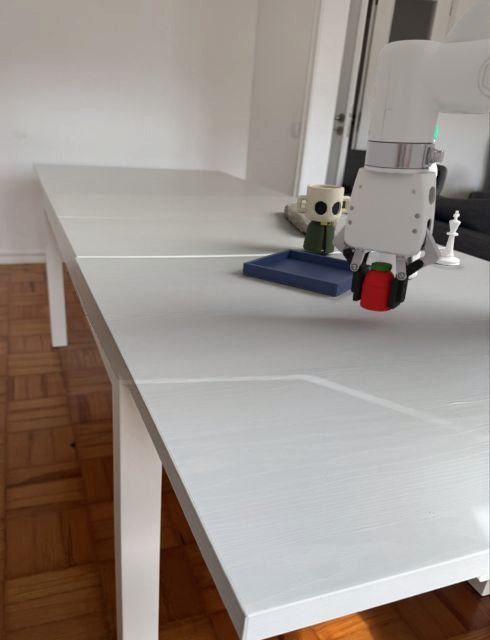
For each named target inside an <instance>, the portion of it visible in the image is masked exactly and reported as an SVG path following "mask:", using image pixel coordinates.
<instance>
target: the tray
mask: <svg viewBox="0 0 490 640" xmlns="http://www.w3.org/2000/svg"><path fill="white" fill-rule="evenodd" d="M367 268H369V270H371V269H372V268H371V264H368V263H367ZM242 275H244V276H249V277H252V278H257V279H261V280H264V281H269V282H274V283H277V284H280V285H281V284H282V285H286V286H290V287H295V288H298V289H303V290H307V291H310V292H315V293H320V294H324V295H327V296H332V297H338V296H340V295H342V294H344V293H345V292H348V291H349V290H350V291H351V285H352V277H353V271H352V270H351V269H350V264H349V263H348V261H347V260H346V259H342V258H337V257H333V256H327V255H322V254H319V253H311V252H308V251H304V250H303V251H302V250H297V249H292V248H286V249H283V250H280V251H277V252H273V253H271V254H267V255H264V256H262V257H257V258H255V259H252V260H248V261H245V262H243V264H242Z"/></svg>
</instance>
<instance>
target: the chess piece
mask: <svg viewBox="0 0 490 640" xmlns="http://www.w3.org/2000/svg"><path fill="white" fill-rule="evenodd" d="M459 212H460V211H459V210H455V213H453V216H452V217H453V219H450V220H449V231H447V232H446V235H447V236H448V239H447V242H446V244H445V247H444V251H443V252H441V256H442V257H441V259H440V260H438V261H437V262H435V264H438V265H442V266H451V267H452V266H453V267H455V266H459V265H460V264H461V263H460V262H461V259H459V258H458V257H456V256H455V254H454V246H455V245H454V243H455V237H458V236H459V233H458V232H457V230H458V228H459V226H460V225H461V223H462V222H461V221H460V220H459V219H458V218H460V213H459Z"/></svg>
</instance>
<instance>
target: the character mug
mask: <svg viewBox="0 0 490 640" xmlns="http://www.w3.org/2000/svg"><path fill="white" fill-rule="evenodd" d="M350 198H351V196H349V195H345V187H344V186H340V185H336V184H335V185H334V184H324V183H313V184H308V185H307V186H306V194H300V195H298V196H297V199H296V203H297V208H296V210H297V212H299V213H304V214H305V217H306V218H307V219H309V220H311V222H310V223H309V224H308V227H307V231H306V233H305V235H304V239H303V244H302V248H303V250H305V252H308V253H313V254H322V252H323V253H324V254H331V253H334V252H335V246H334V245H333V244H332V240H333V239H334V238H335V231H334V226H333V224H332V222H334V221H339V220H340V218H341V216H342V214H347V212H348V207H349V202H350ZM303 201H305V202H304V203H305V208H302V207H301V206H302V203H303ZM344 202H345V205H344V207H343V203H344Z"/></svg>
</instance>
